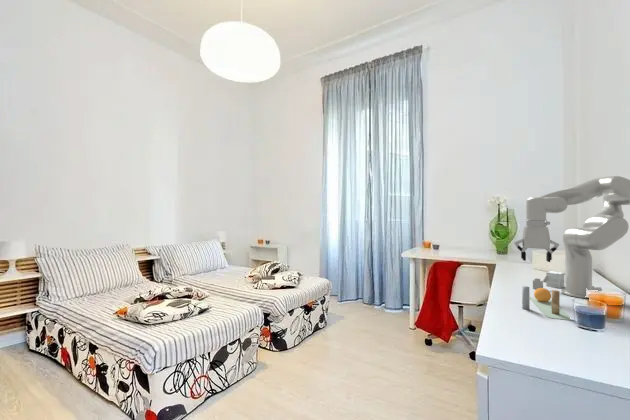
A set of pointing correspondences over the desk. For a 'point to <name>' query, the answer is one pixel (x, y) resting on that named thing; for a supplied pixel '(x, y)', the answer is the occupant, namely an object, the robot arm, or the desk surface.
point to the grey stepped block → (539, 282)
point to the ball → (542, 295)
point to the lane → (549, 309)
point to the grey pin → (525, 298)
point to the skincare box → (555, 279)
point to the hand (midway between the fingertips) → (536, 260)
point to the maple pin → (555, 302)
